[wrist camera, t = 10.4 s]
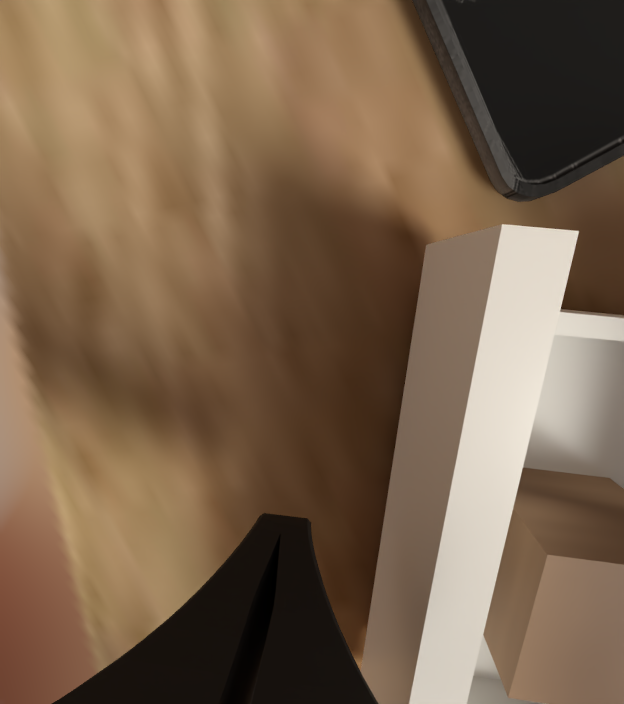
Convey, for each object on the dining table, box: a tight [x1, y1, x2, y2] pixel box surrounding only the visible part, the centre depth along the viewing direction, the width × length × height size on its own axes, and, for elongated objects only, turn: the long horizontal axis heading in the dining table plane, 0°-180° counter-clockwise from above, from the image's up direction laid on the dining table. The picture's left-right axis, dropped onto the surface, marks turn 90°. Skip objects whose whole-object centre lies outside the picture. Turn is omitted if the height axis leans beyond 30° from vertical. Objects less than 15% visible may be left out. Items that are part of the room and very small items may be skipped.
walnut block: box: [483, 468, 624, 704], centre depth 10 cm, size 4×4×4 cm
